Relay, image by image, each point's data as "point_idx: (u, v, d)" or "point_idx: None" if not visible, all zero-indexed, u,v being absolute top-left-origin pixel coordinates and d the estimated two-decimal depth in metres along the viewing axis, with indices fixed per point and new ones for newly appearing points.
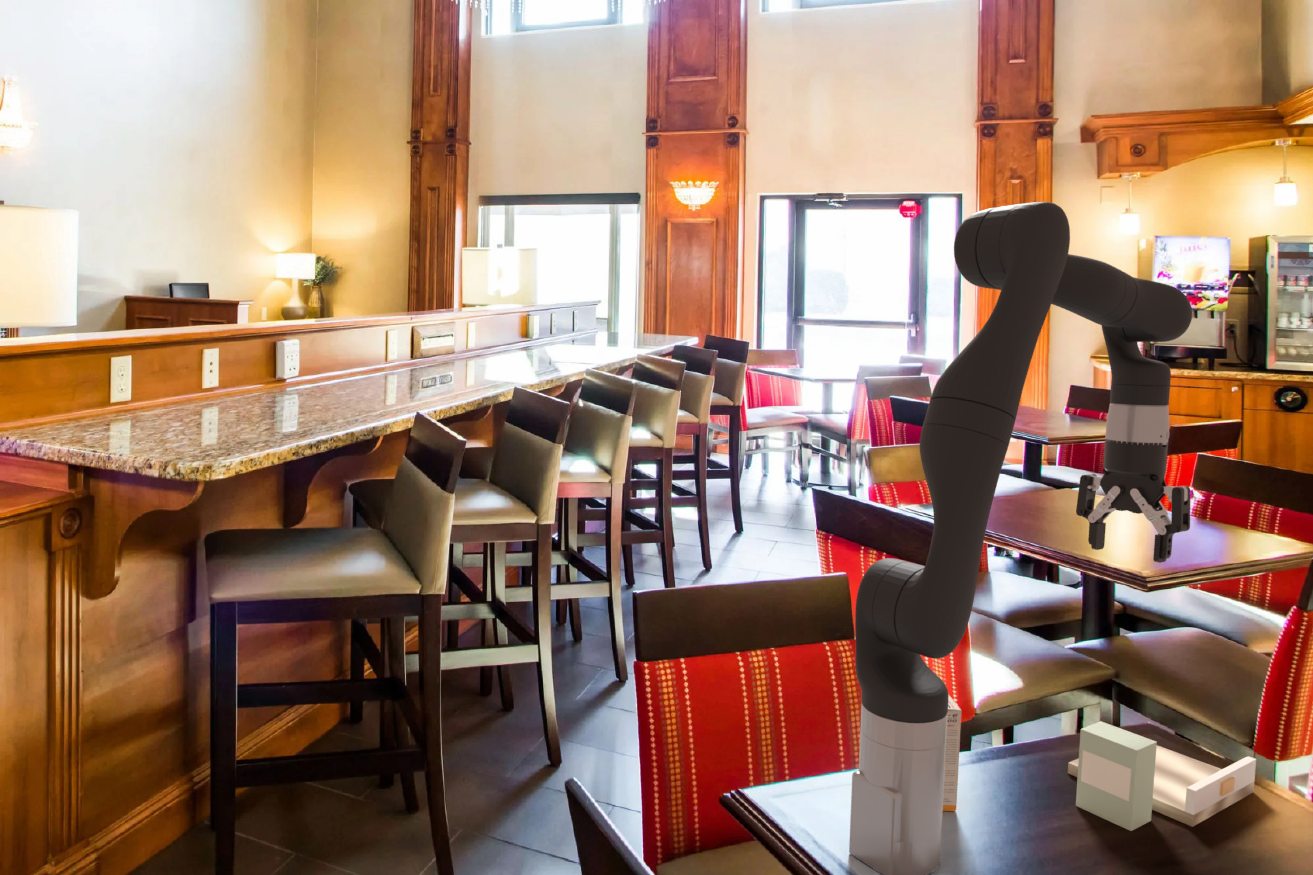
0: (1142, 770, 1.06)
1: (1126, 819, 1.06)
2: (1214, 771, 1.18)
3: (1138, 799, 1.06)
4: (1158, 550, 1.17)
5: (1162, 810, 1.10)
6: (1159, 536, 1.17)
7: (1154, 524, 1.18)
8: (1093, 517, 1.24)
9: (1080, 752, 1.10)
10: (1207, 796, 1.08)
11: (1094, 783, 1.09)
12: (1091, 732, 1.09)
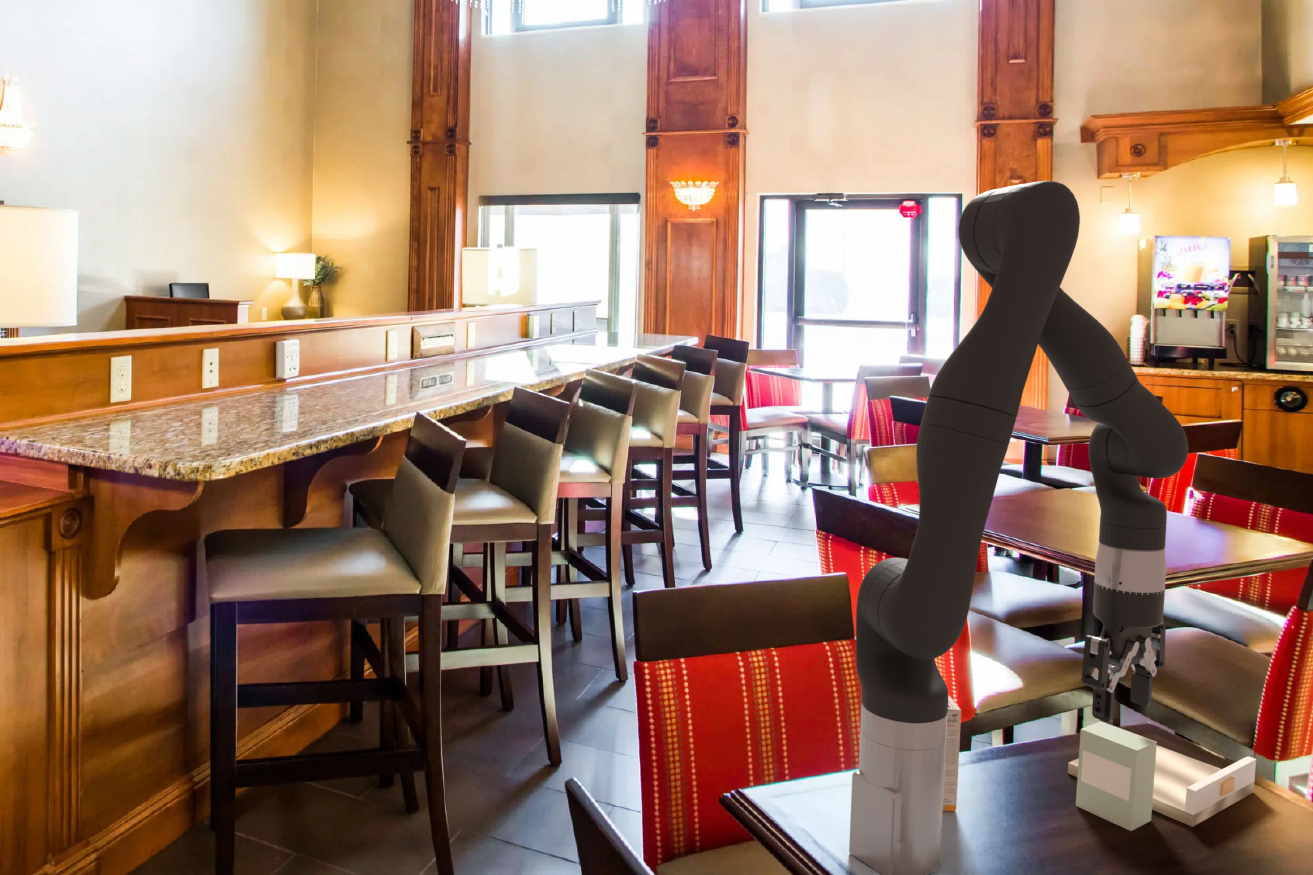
0: (1142, 770, 1.06)
1: (1126, 819, 1.06)
2: (1214, 771, 1.18)
3: (1138, 799, 1.06)
4: (1150, 693, 1.10)
5: (1162, 810, 1.10)
6: (1151, 678, 1.10)
7: (1150, 668, 1.09)
8: (1113, 685, 1.04)
9: (1080, 752, 1.10)
10: (1207, 796, 1.08)
11: (1094, 783, 1.09)
12: (1091, 732, 1.09)
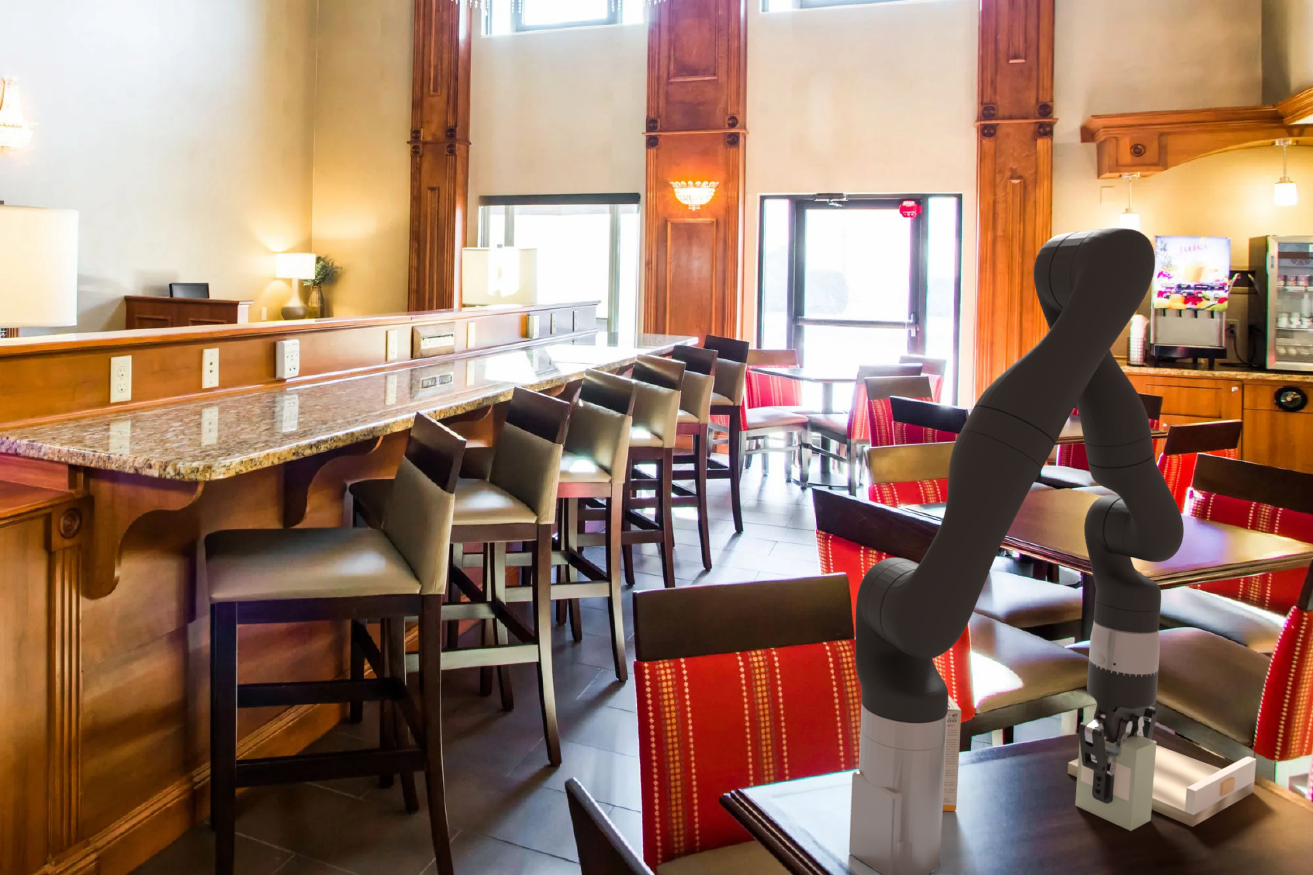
0: (1142, 770, 1.06)
1: (1126, 819, 1.06)
2: (1214, 771, 1.18)
3: (1138, 799, 1.06)
4: None
5: (1162, 810, 1.10)
6: None
7: None
8: (1113, 768, 1.06)
9: (1080, 752, 1.11)
10: (1207, 796, 1.08)
11: None
12: None
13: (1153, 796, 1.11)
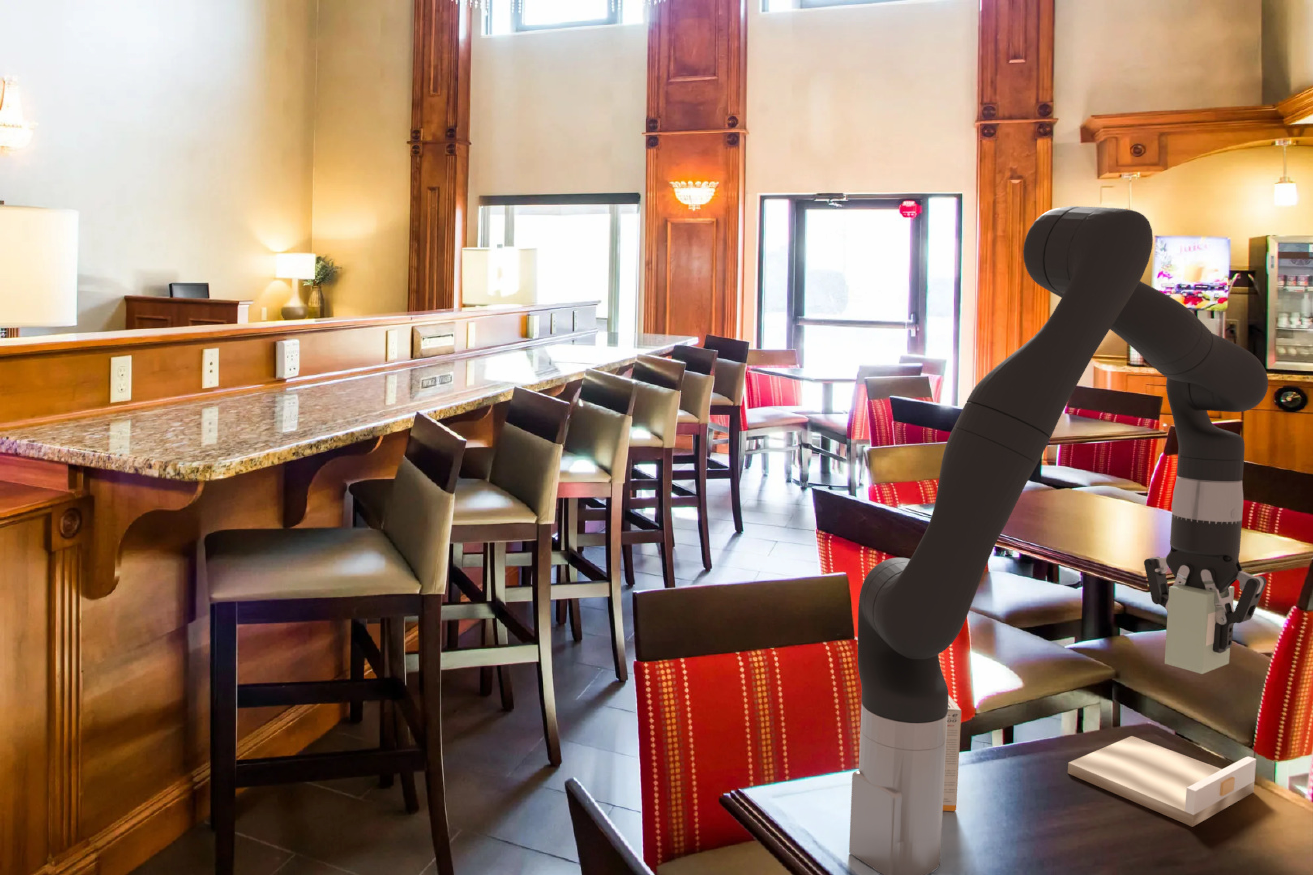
0: None
1: (1227, 655, 1.13)
2: (1214, 771, 1.18)
3: None
4: None
5: (1162, 810, 1.10)
6: None
7: None
8: None
9: (1206, 618, 1.09)
10: (1207, 796, 1.08)
11: (1213, 640, 1.10)
12: (1212, 593, 1.09)
13: (1153, 796, 1.11)
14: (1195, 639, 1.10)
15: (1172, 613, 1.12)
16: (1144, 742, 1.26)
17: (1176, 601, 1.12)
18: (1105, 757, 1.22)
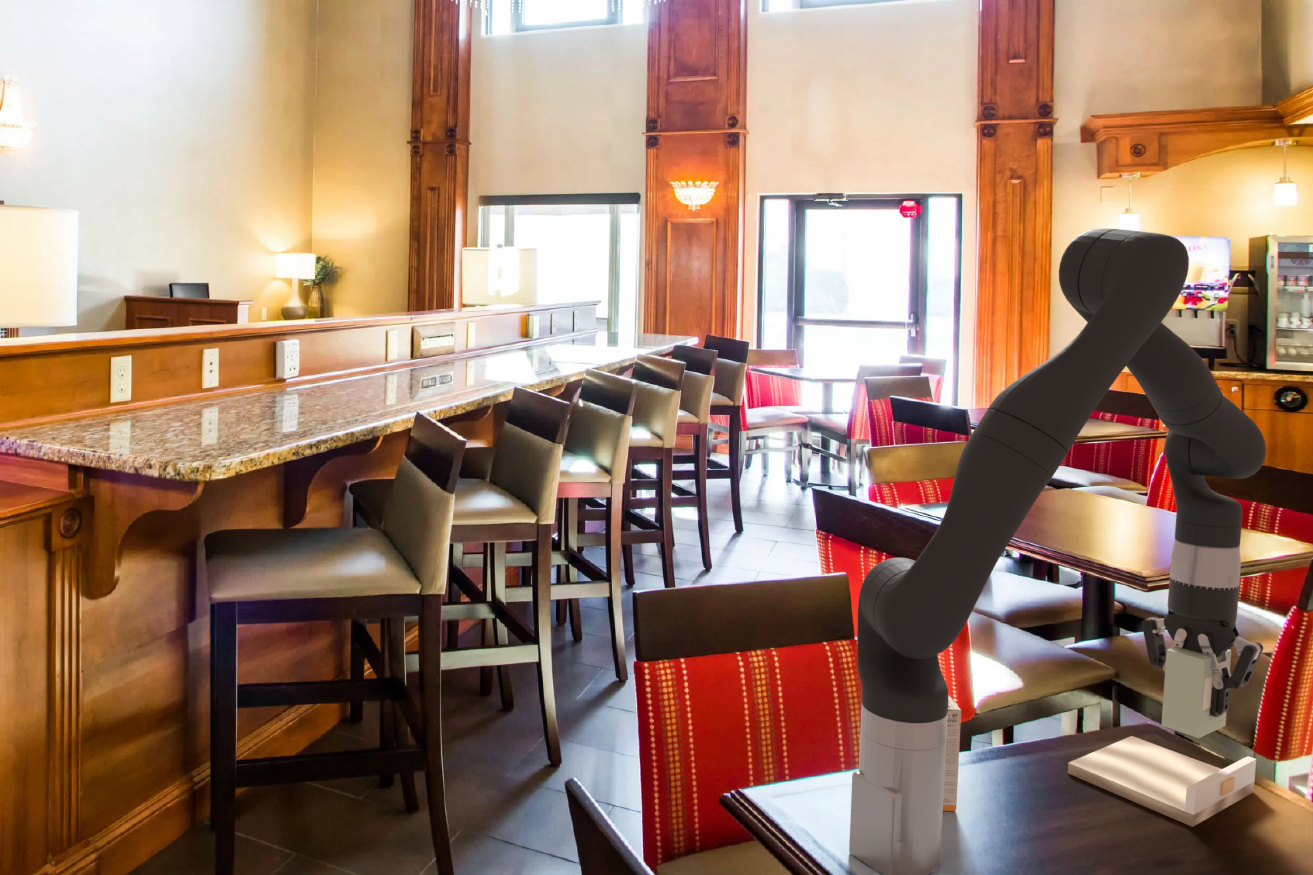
0: None
1: (1223, 718, 1.13)
2: (1214, 771, 1.18)
3: None
4: None
5: (1162, 810, 1.10)
6: None
7: None
8: None
9: (1203, 683, 1.09)
10: (1207, 796, 1.08)
11: (1209, 704, 1.11)
12: (1209, 657, 1.10)
13: (1153, 796, 1.11)
14: (1192, 703, 1.10)
15: (1169, 676, 1.13)
16: (1144, 742, 1.26)
17: (1173, 664, 1.12)
18: (1105, 757, 1.22)
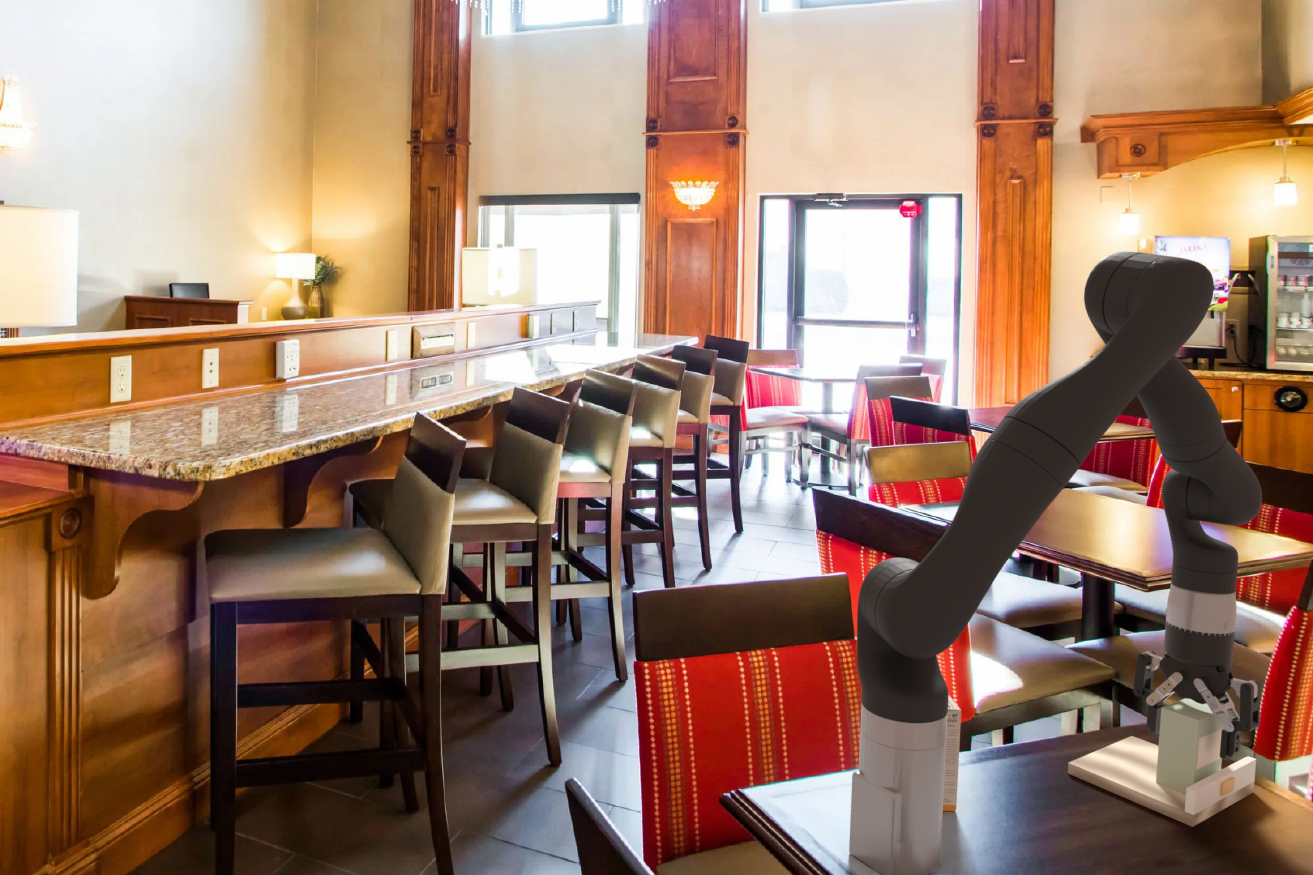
0: None
1: None
2: None
3: None
4: None
5: (1162, 810, 1.10)
6: None
7: (1167, 695, 1.17)
8: None
9: (1197, 742, 1.10)
10: (1207, 796, 1.08)
11: (1203, 763, 1.12)
12: (1203, 717, 1.11)
13: (1153, 796, 1.11)
14: (1186, 762, 1.11)
15: (1164, 734, 1.13)
16: (1144, 742, 1.26)
17: (1168, 722, 1.13)
18: (1105, 757, 1.22)
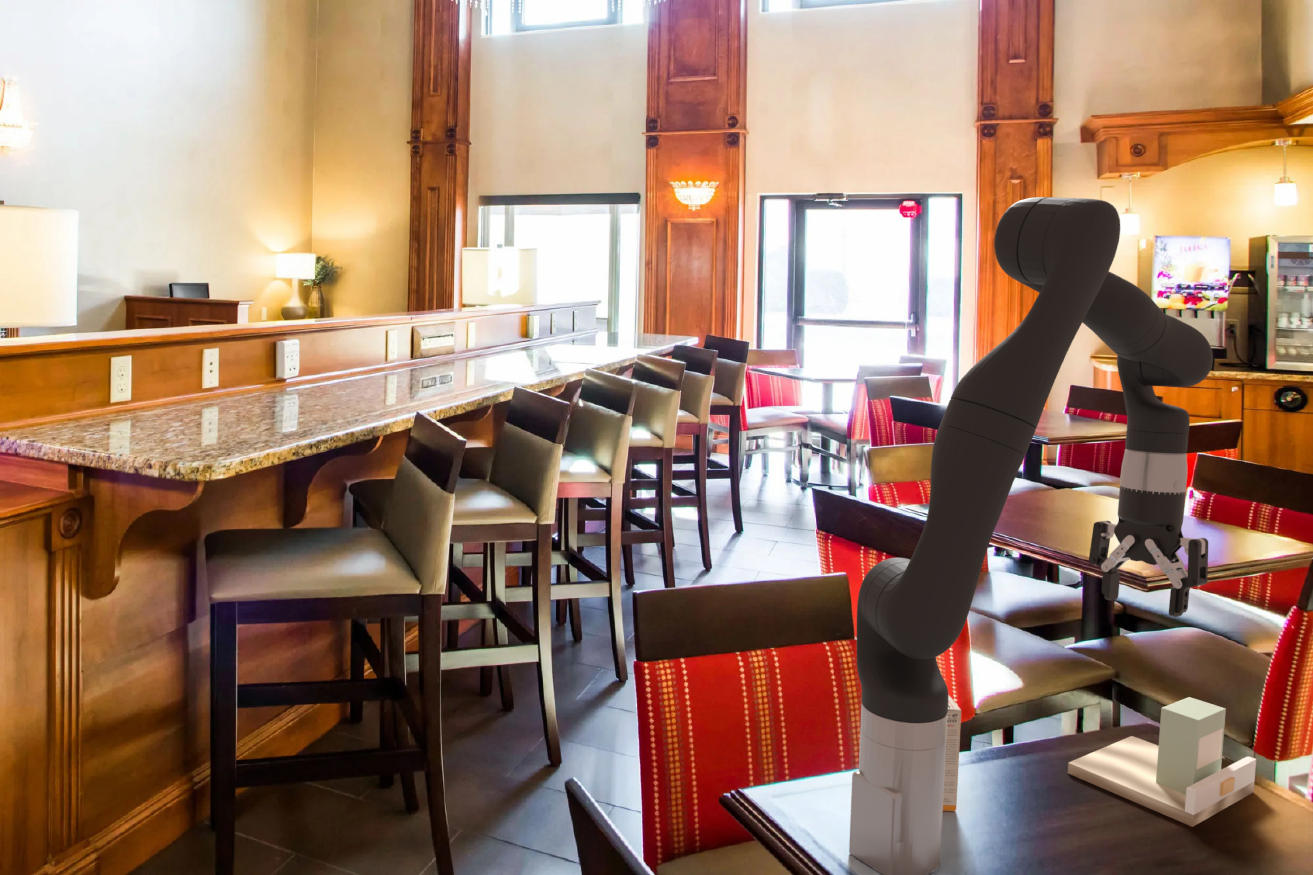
0: None
1: None
2: None
3: None
4: None
5: (1162, 810, 1.10)
6: None
7: None
8: None
9: (1197, 742, 1.10)
10: (1207, 796, 1.08)
11: (1203, 763, 1.12)
12: (1203, 717, 1.11)
13: (1153, 796, 1.11)
14: (1186, 762, 1.11)
15: (1164, 734, 1.13)
16: (1144, 742, 1.26)
17: (1168, 722, 1.13)
18: (1105, 757, 1.22)
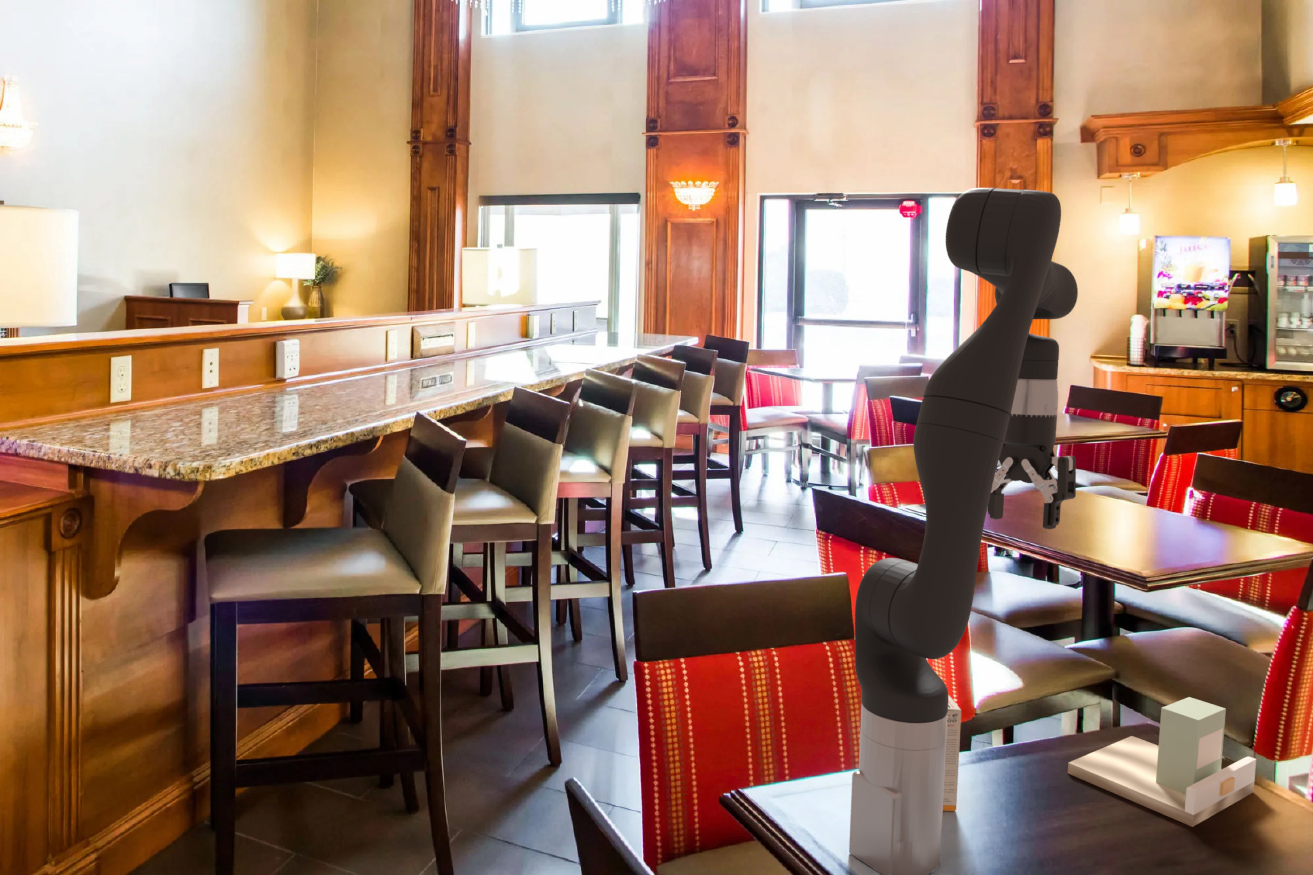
0: None
1: None
2: None
3: None
4: None
5: (1162, 810, 1.10)
6: None
7: None
8: None
9: (1197, 742, 1.10)
10: (1207, 796, 1.08)
11: (1203, 763, 1.12)
12: (1203, 717, 1.11)
13: (1153, 796, 1.11)
14: (1186, 762, 1.11)
15: (1164, 734, 1.13)
16: (1144, 742, 1.26)
17: (1168, 722, 1.13)
18: (1105, 757, 1.22)
